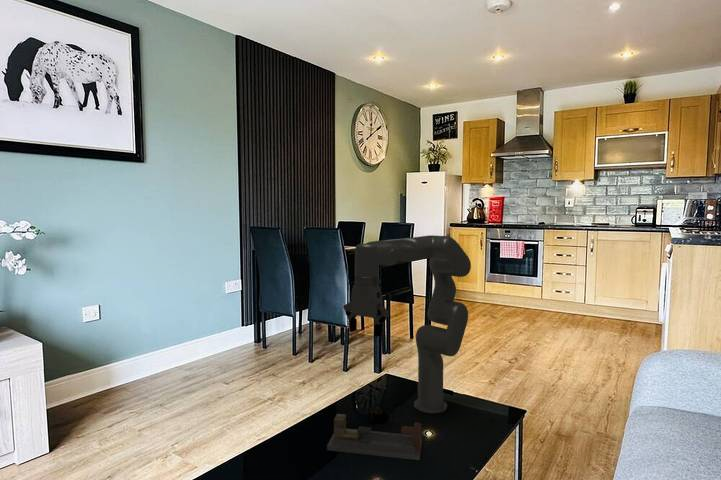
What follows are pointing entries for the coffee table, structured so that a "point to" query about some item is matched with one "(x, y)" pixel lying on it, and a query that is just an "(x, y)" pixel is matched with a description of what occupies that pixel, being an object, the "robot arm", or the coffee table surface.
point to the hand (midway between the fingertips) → (365, 333)
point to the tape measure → (378, 414)
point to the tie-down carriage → (345, 433)
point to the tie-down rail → (383, 443)
